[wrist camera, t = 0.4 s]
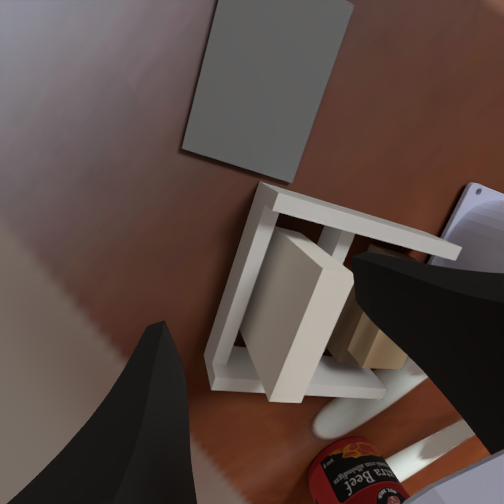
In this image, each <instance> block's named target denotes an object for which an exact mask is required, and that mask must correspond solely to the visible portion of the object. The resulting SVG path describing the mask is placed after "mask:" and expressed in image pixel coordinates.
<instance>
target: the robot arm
mask: <svg viewBox="0 0 504 504" xmlns="http://www.w3.org/2000/svg"><path fill="white" fill-rule="evenodd" d="M476 190H477V191H476ZM440 238H441V239H443V240H446V241H448V242H451V243H453V244H455V245H458V246H460V247H462V249H461V251H460V253H459V255H458V257H457V259H456V261H454V260H451V259H447V258H443V257H440V256H436V255H431V257H430V259H429V261H428V263H427V264H425V263H420V262H415V261H410V260H406V259H401V258H397V257H392V256H387V255H382V254H377V253H371V252H364V253H361V254H358V255H355V256H352V257H351V259H352V269H353V279H354V288H355V298H356V302H357V303H358V305H359V306H360V307H361V309H362V310H363V311H364V313H365V314H366V315H367V316H368V317H369V319H370V320H371V321H372V322H373V323H374V324H375V325H376V326H377V327H378V328H379V329H380V330H381V331H382V332H383V333H384V334H385V335H386V336H388V337H389V338H390V339H391V340H392V341H393V342H394V343H395V344H396V345H397V346H398V347H399V348H400V349H401V350H402V351H404V352H405V353H406V354H407V355H408V356H409V357H410V358H411V359H412V360H413V361H414V362H415V363H416V364H417V365H418V366H419V367H420V368H421V369H422V370H423V371H424V372H425V373H426V374H427V376H428V377H429V378H430V379H431V380H432V381H433V383H434V384H435V385H436V386H437V387H438V388H439V389H440V391H441V392H442V393H443V394H444V395H445V397H446V398H447V399H448V400H449V401H450V403H451V404H452V405H453V406H454V408H455V409H456V410H457V411H458V412H459V414H460V415H461V416H462V417H463V419H464V420H465V421H466V422H467V424H468V425H469V426H470V427H471V429H472V430H473V432H474V433H475V434H476V435H477V437H478V438H479V439H480V441H481V442H482V443H483V445H484V446H485V447H486V448H487V450H488V451H489V453H490V454H491V456H489V457H487V458H484V459H482V460H480V461H478V462H476V463H474V464H472V465H470V466H468V467H465V468H463V469H461V470H459V471H457V472H455V473H453V474H451V475H449V476H447V477H444V478H442V479H440V480H438V481H436V482H434V483H432V484H430V485H428V486H427V487H425V488H423V489H422V490H420V491H419V492H417V493H416V494H414V495H413V496H411V497H410V498H408V499H407V500H405V501H404V502H403V503H402V504H504V194H502V193H500V192H497V191H495V190H492V189H490V188H487V187H485V186H482V185H480V184H477V183H472V182H471V183H469V184H468V185H467V186H466V187H465V189H464V191H463V193H462V195H461V197H460V199H459V201H458V203H457V205H456V207H455V209H454V211H453V213H452V215H451V217H450V219H449V221H448V223H447V225H446V227H445V229H444V231H443V233H442V235H441V237H440ZM190 454H191V453H190V432H189V410H188V392H187V385H186V379H185V373H184V368H183V363H182V361H181V359H180V356H179V354H178V351H177V349H176V346H175V344H174V342H173V339H172V337H171V334H170V332H169V329H168V327H167V324H166V322H165V320H164V321H161V322H158V323H155V324H152V325H149V326H147V328H146V330H145V331H144V333H143V335H142V337H141V339H140V341H139V343H138V345H137V346H136V348H135V350H134V352H133V354H132V356H131V357H130V359H129V361H128V363H127V365H126V366H125V368H124V370H123V371H122V373H121V375H120V376H119V378H118V379H117V381H116V383H115V384H114V386H113V387H112V389H111V390H110V392H109V393H108V395H107V396H106V398H105V399H104V400H103V402H102V403H101V404H100V406H99V407H98V408H97V410H96V411H95V412H94V414H93V415H92V416H91V417H90V419H89V420H88V421H87V422H86V424H85V425H84V426H83V427H82V428H81V429H80V431H79V432H78V433H77V434H76V435H75V436H74V437H73V438H72V440H71V441H70V442H69V443H68V444H67V445H66V446H65V447H64V449H63V450H62V451H61V452H60V453H59V454H58V455H57V456H56V457H55V458H54V459H53V460H52V461H51V462H50V463H49V464H48V465H47V466H46V467H45V468H44V469H43V470H42V472H40V473H39V475H37V476H36V477H35V478H34V479H33V480H32V481H31V482H30V483H29V484H28V485H27V486H26V487H25V488H24V489H23V490H22V491H21V492H19V493H18V494H17V495H16V496H15V497H14V498H13V499H12V500H11V501H9V502H8V503H7V504H197V500H196V493H195V486H194V479H193V474H192V473H193V472H192V465H191V455H190Z"/></svg>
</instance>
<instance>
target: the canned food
mask: <svg viewBox="0 0 504 504" xmlns="http://www.w3.org/2000/svg"><path fill="white" fill-rule="evenodd" d="M308 482H309V489H310V493H311V495H312V497H313V500H314V502H315V504H402V503H403V502H404V501H405V500H407V499H408V498H410V496H409V495H408V493H407V492H406V491H405V489H404V488H403V486H402V485H401V483H400V482H399V480H398V479H397V477H396V476H395V474H394V473H393V472H392V470H391V469H390V467H389V466H388V464H387V463H386V461H385V460H384V458H383V457H382V455H381V454H380V453H379V451H378V450H377V448H376V447H375V446H374V445H373V444H372V443H370V442H369V441H368V440H366V439H365V438H361V437H349V438H345V439H341V440H339V441H337V442H334V443H333V444H331V445H329V446H328V447H327V448H325V449H324V450H323V451H322V452H321V453H320V454H319V455H318V456H317V457H316V458H315V460H314V461H313V463H312V465H311V467H310V469H309V472H308Z"/></svg>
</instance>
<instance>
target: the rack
mask: <svg viewBox="0 0 504 504" xmlns="http://www.w3.org/2000/svg"><path fill="white" fill-rule="evenodd" d="M279 213H283V214H287V215H290V216H294V217H297V218H301V219H305V220H308V221H312V222H316V223H319V224H323V225H324V228H323V230H322V233H321V235H320V238H319V240H318V243H317V246H318V247H320V248H321V249H322V250H324V251H325V252H326V253H328V254H329V255H330V256H331V257H333V258H334V259H335V260H337V261H338V262H339V263H341V264H343V262H344V260H345V257H346V255H347V252H348V250H349V248H350V245H351V243H352V241H353V238H354V236H355V234H359V235H363V236H367V237H370V238H374V239H378V240H381V241H385V242H389V243H392V244H396V245H400V246H403V247H407V248H411V249H414V250H418V251H421V252H425V253H429V254H432V255H436V256H440V257H443V258H447V259H451V260H454V261H456V259H457V257H458V255H459V253H460V251H461V249H462V247H460V246H458V245H455V244H453V243H451V242H448V241H446V240H443V239H441V238H438V237H436V236H434V235H431V234H429V233H426V232H424V231H421V230H417V229H414V228H411V227H407V226H404V225H401V224H398V223H394V222H391V221H388V220H384V219H381V218H378V217H375V216H371V215H368V214H365V213H362V212H358V211H355V210H352V209H348V208H345V207H342V206H339V205H335V204H332V203H329V202H325V201H322V200H319V199H316V198H312V197H309V196H306V195H302V194H299V193H296V192H293V191H289V190H286V189H283V188H279V187H276V186H273V185H270V184H266V183H263V182H260V181H259V184H258V187H257V190H256V193H255V197H254V200H253V203H252V206H251V209H250V212H249V215H248V218H247V221H246V225H245V228H244V231H243V234H242V237H241V240H240V243H239V246H238V249H237V253H236V256H235V259H234V262H233V265H232V268H231V271H230V274H229V277H228V281H227V284H226V287H225V290H224V293H223V296H222V299H221V302H220V305H219V309H218V312H217V315H216V318H215V321H214V324H213V327H212V330H211V333H210V337H209V340H208V343H207V346H206V349H205V352H204V359H205V364H206V368H207V373H208V378H209V382H210V387H211V390H219V391H237V392H256V393H265V391H264V388H263V386H262V383H261V381H260V378H259V376H258V374H257V371H256V369H255V366H254V364H253V361H252V359H251V356H250V354H249V351H248V349H247V347H238V346H233V344H234V342H235V339H236V336H237V333H238V330H239V327H240V324H241V321H242V319H243V316H244V313H245V310H246V307H247V304H248V301H249V299H250V296H251V293H252V290H253V287H254V284H255V281H256V278H257V276H258V273H259V270H260V267H261V264H262V261H263V258H264V255H265V253H266V250H267V247H268V244H269V241H270V238H271V235H272V232H273V230H274V227H275V224H276V221H277V218H278V215H279ZM387 390H388V389H387V388H386V387H385V385H384V384H383V383H382V382H381V381H380V380H379V379H378V377H377V376H376V375H375V374H374V373H373V372H372V370H371V369H370V368H362V367H361V366H360V365H359V364H350V363H342V362H337V361H336V360H335V358H334V357H332V356H321V358H320V361H319V363H318V365H317V368H316V370H315V372H314V374H313V377H312V379H311V381H310V383H309V386H308V388H307V390H306V392H305V395H311V396H329V397H348V398H366V399H383V397H384V395H385V394H386V392H387Z"/></svg>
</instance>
